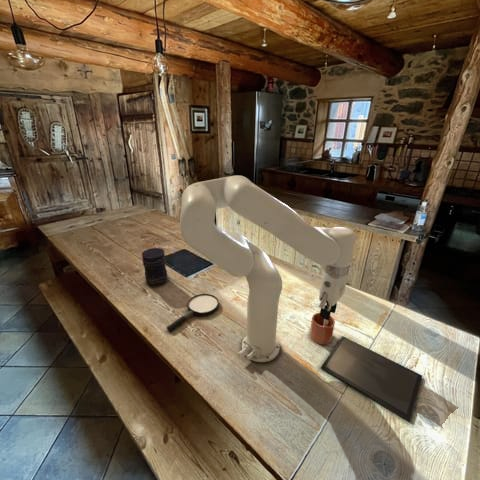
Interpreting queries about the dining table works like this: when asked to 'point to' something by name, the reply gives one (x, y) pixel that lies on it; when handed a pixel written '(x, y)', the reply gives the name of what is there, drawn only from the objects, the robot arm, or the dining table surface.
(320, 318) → the pen pot
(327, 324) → the stylus
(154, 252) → the storage jar
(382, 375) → the tablet
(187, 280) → the dining table surface
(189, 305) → the magnifying glass
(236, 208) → the robot arm
